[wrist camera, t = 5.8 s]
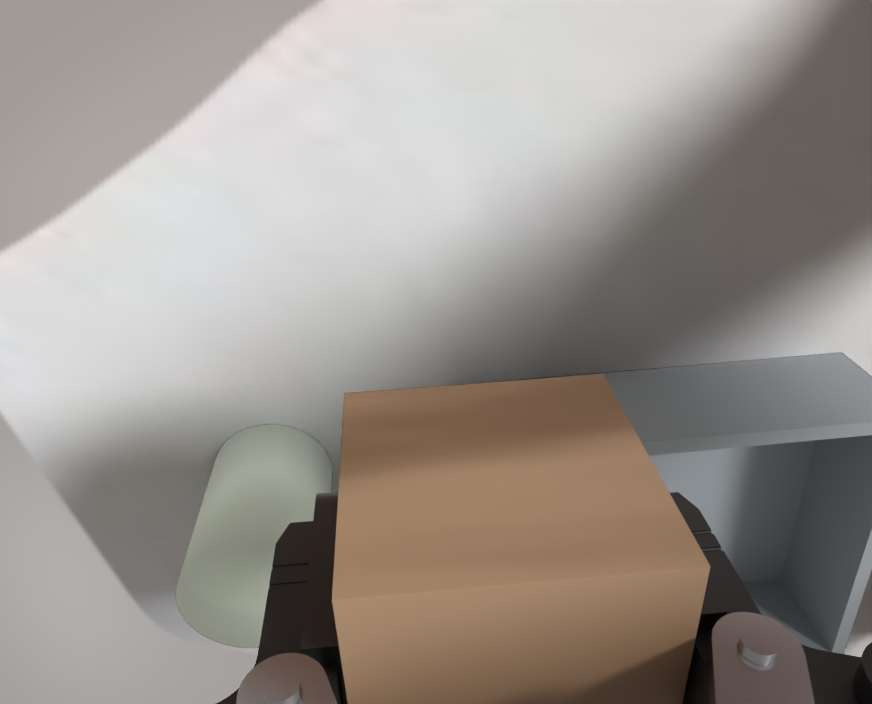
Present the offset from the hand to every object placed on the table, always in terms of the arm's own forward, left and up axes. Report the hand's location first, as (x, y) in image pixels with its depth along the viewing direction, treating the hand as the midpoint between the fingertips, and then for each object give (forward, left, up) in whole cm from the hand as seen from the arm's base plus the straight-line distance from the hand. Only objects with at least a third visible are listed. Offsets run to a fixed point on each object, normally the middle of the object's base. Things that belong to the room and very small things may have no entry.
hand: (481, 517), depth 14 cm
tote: (+12, +9, -14) cm, 21 cm away
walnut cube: (0, 0, -1) cm, 1 cm away
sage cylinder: (+9, -7, -14) cm, 19 cm away
